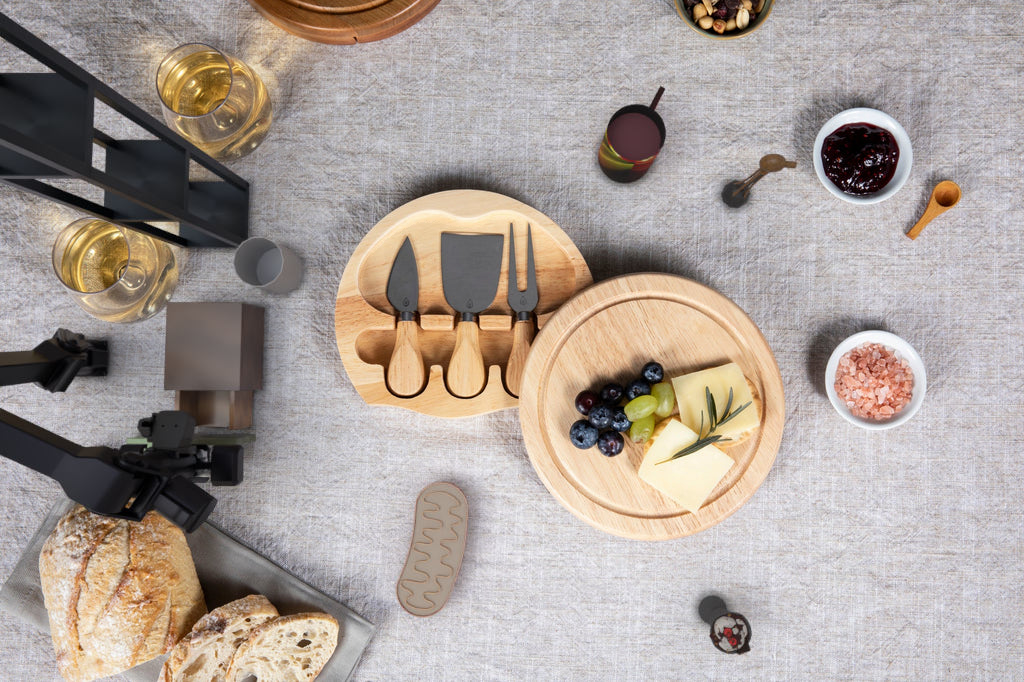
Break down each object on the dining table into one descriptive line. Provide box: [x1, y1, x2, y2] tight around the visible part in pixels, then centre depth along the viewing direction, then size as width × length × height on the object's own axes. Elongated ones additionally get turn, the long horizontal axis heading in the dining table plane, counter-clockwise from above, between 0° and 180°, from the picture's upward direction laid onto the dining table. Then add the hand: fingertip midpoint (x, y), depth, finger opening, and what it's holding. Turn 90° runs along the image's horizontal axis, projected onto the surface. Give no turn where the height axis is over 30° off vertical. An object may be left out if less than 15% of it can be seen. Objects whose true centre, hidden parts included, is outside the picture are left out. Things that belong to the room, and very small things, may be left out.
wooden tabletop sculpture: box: [720, 153, 798, 209], centre depth 109 cm, size 6×5×20 cm
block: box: [126, 435, 152, 451], centre depth 116 cm, size 4×4×4 cm
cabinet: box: [163, 301, 265, 391], centre depth 114 cm, size 15×13×10 cm
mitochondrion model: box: [395, 481, 469, 619], centre depth 114 cm, size 23×10×5 cm, turn 167°
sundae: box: [698, 595, 753, 656], centre depth 108 cm, size 7×7×15 cm
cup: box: [232, 236, 305, 295], centre depth 115 cm, size 8×8×10 cm
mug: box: [597, 85, 667, 184], centre depth 114 cm, size 10×14×12 cm
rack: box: [0, 11, 250, 250], centre depth 87 cm, size 12×12×66 cm
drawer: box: [174, 390, 257, 470], centre depth 114 cm, size 18×11×8 cm, turn 0°
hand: (206, 457), depth 111 cm, fingers closed
